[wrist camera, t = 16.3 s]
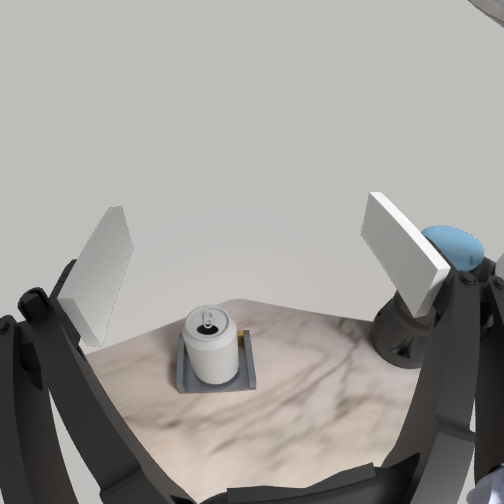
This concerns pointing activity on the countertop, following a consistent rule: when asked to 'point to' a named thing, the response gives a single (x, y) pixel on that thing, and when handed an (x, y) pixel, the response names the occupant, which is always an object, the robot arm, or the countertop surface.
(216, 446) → the countertop surface
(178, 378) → the open rectangular tray
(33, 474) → the robot arm
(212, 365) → the can
